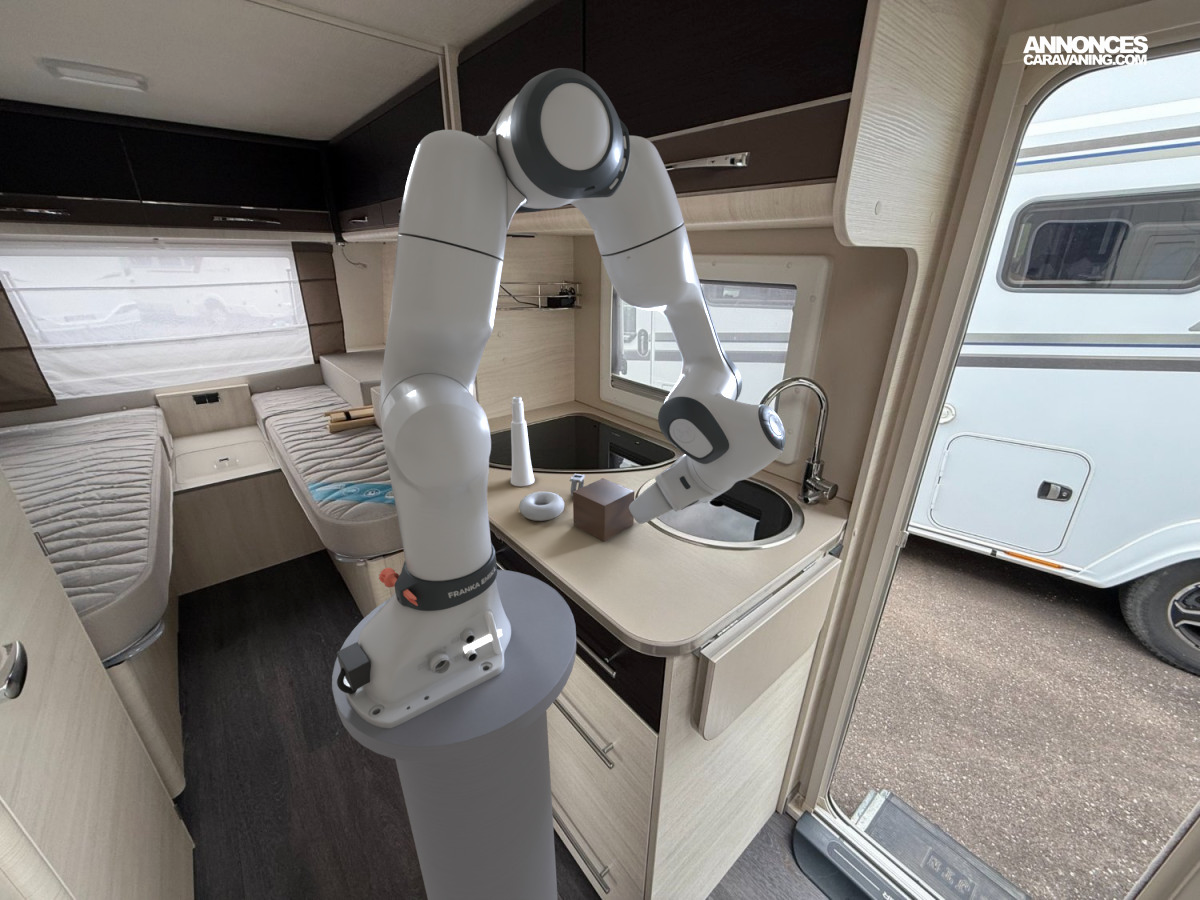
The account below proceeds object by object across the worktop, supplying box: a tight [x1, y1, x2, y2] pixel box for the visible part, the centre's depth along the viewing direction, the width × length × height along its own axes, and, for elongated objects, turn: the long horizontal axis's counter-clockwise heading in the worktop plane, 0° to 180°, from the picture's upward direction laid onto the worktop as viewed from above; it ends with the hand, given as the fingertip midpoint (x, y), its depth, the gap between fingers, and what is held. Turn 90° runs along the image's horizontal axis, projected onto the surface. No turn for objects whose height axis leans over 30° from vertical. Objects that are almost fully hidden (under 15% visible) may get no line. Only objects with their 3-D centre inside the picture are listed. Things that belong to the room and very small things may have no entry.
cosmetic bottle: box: [510, 396, 535, 487], centre depth 115 cm, size 6×6×22 cm
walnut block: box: [572, 478, 635, 542], centre depth 97 cm, size 9×9×8 cm
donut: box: [518, 491, 565, 522], centre depth 103 cm, size 10×4×10 cm
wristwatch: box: [569, 473, 586, 498], centre depth 111 cm, size 6×3×5 cm, turn 164°
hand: (650, 507), depth 87 cm, fingers closed
